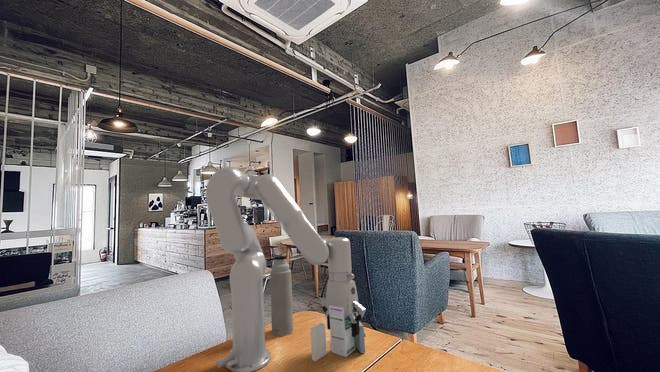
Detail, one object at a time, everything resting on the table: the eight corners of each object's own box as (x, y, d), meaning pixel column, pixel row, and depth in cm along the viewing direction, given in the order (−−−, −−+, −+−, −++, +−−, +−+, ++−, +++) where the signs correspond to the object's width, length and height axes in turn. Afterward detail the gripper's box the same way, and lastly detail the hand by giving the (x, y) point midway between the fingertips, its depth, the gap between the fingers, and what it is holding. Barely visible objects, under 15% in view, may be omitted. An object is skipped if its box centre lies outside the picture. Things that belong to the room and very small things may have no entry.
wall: (315, 361, 81) (314, 329, 82) (311, 359, 82) (310, 328, 83) (358, 332, 99) (357, 306, 100) (354, 331, 100) (353, 306, 101)
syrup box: (346, 357, 82) (343, 307, 84) (330, 352, 86) (328, 304, 87) (356, 349, 87) (353, 302, 88) (341, 345, 90) (338, 299, 92)
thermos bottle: (267, 333, 102) (265, 257, 105) (282, 325, 109) (280, 254, 112) (282, 338, 98) (279, 258, 101) (297, 329, 104) (294, 255, 107)
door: (368, 352, 85) (366, 322, 85) (360, 353, 84) (359, 323, 85) (354, 334, 97) (353, 308, 98) (348, 335, 97) (346, 309, 97)
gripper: (369, 276, 86) (372, 333, 84) (327, 271, 97) (329, 321, 95) (355, 282, 80) (359, 343, 78) (312, 275, 91) (315, 329, 89)
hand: (343, 331), depth 87 cm, fingers open, 9 cm apart
